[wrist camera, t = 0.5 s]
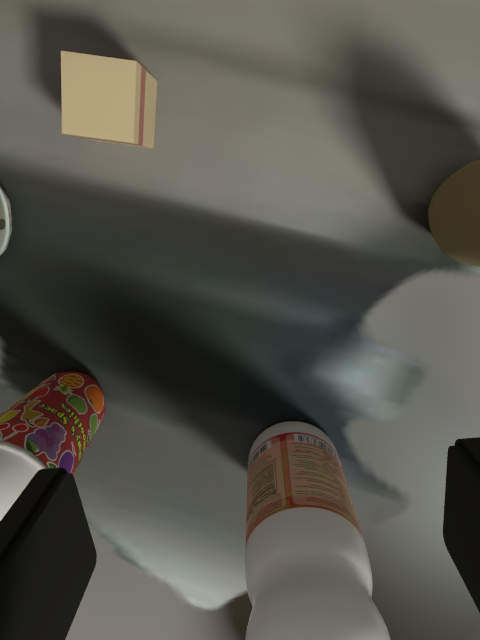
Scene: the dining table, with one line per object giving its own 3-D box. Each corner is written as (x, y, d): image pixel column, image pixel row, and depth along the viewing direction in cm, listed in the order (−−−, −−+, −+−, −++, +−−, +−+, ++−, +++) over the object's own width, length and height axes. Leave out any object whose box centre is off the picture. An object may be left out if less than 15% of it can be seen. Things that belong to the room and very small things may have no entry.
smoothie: (133, 410, 43) (35, 597, 24) (68, 441, 44) (-71, 639, 25) (86, 345, 40) (-62, 492, 21) (20, 379, 42) (-173, 546, 23)
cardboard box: (94, 72, 33) (60, 50, 27) (157, 80, 33) (136, 60, 27) (93, 140, 34) (61, 133, 29) (153, 149, 34) (133, 143, 29)
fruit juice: (331, 411, 42) (461, 815, 15) (341, 485, 45) (465, 930, 18) (240, 425, 43) (215, 827, 16) (256, 496, 46) (257, 936, 19)
